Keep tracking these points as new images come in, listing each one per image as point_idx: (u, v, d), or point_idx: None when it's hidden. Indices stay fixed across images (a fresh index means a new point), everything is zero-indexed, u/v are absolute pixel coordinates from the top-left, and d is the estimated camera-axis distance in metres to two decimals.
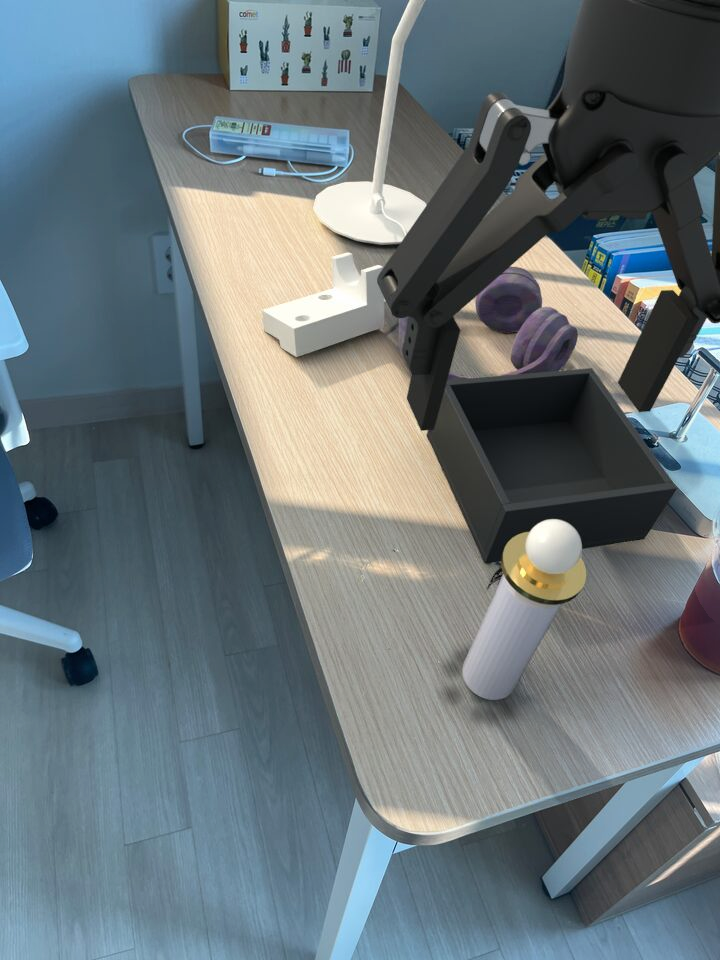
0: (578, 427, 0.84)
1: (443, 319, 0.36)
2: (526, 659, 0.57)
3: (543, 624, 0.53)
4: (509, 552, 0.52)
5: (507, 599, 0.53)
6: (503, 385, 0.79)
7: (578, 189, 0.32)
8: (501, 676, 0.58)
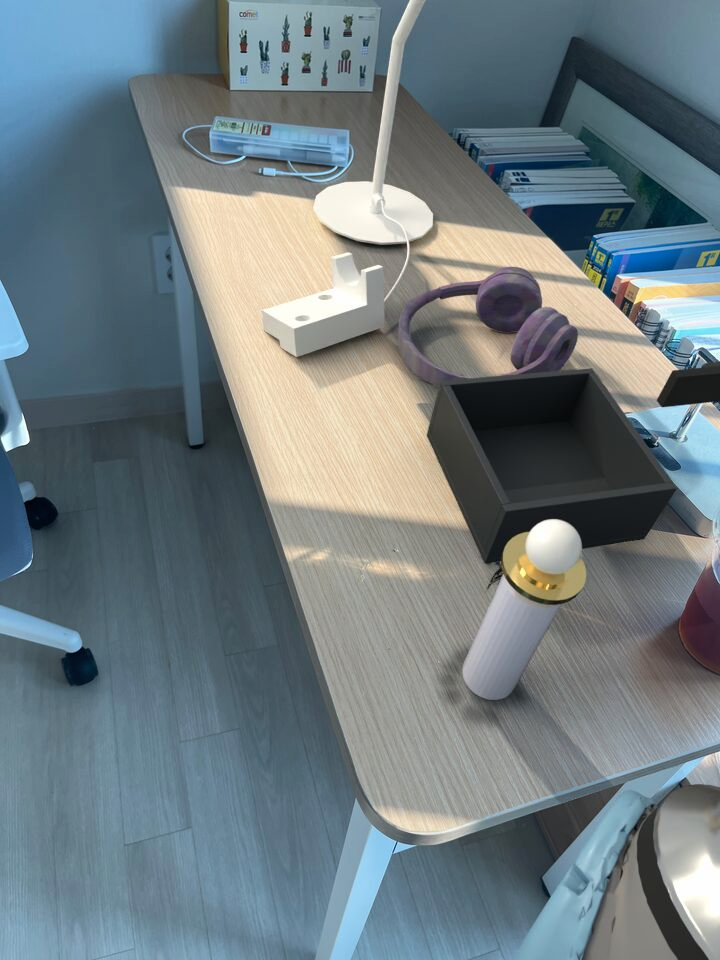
0: (578, 427, 0.84)
1: None
2: (526, 659, 0.57)
3: (543, 624, 0.53)
4: (509, 552, 0.52)
5: (507, 599, 0.53)
6: (503, 385, 0.79)
7: None
8: (501, 676, 0.58)
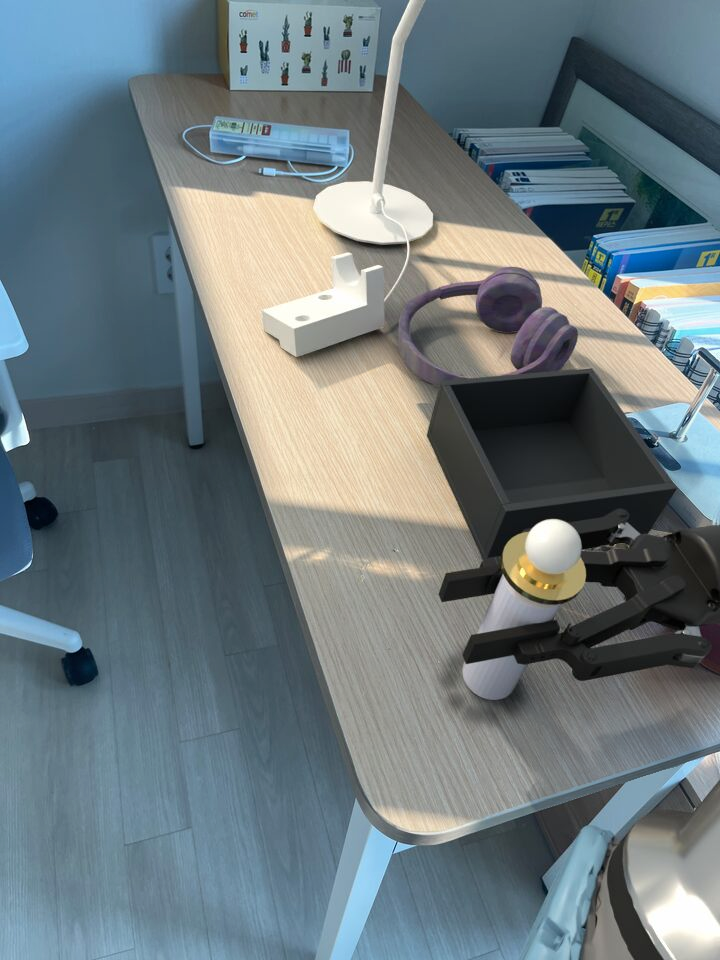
0: (578, 427, 0.84)
1: None
2: None
3: None
4: (509, 552, 0.52)
5: (507, 599, 0.53)
6: (503, 385, 0.79)
7: (633, 550, 0.58)
8: (501, 676, 0.58)
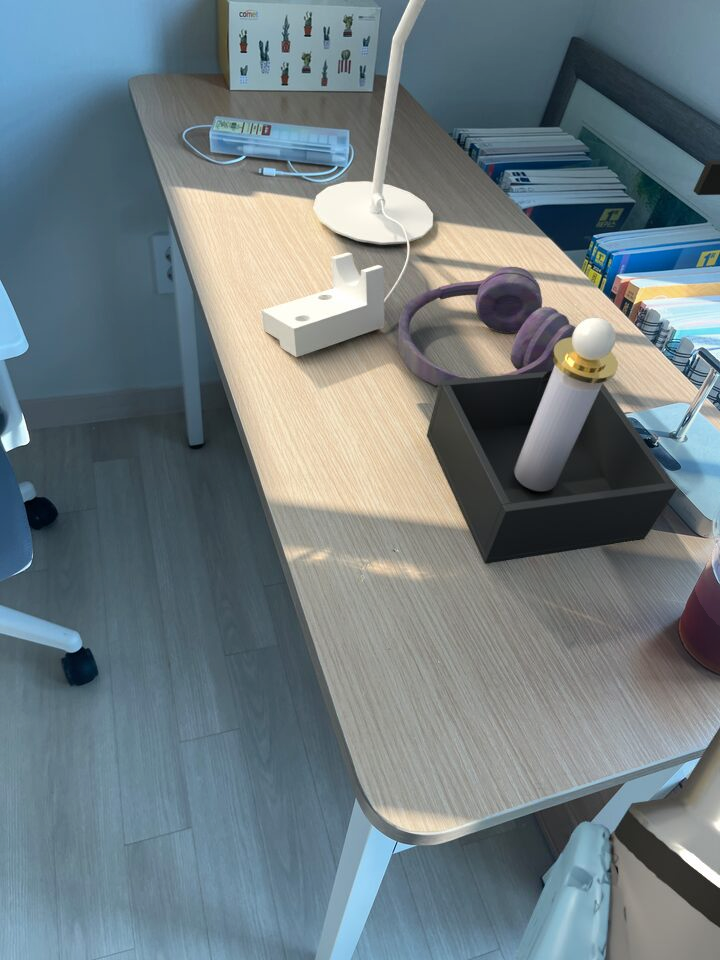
0: None
1: None
2: (568, 447, 0.72)
3: (584, 408, 0.69)
4: (558, 349, 0.67)
5: (556, 387, 0.68)
6: (503, 385, 0.79)
7: None
8: (548, 464, 0.74)
